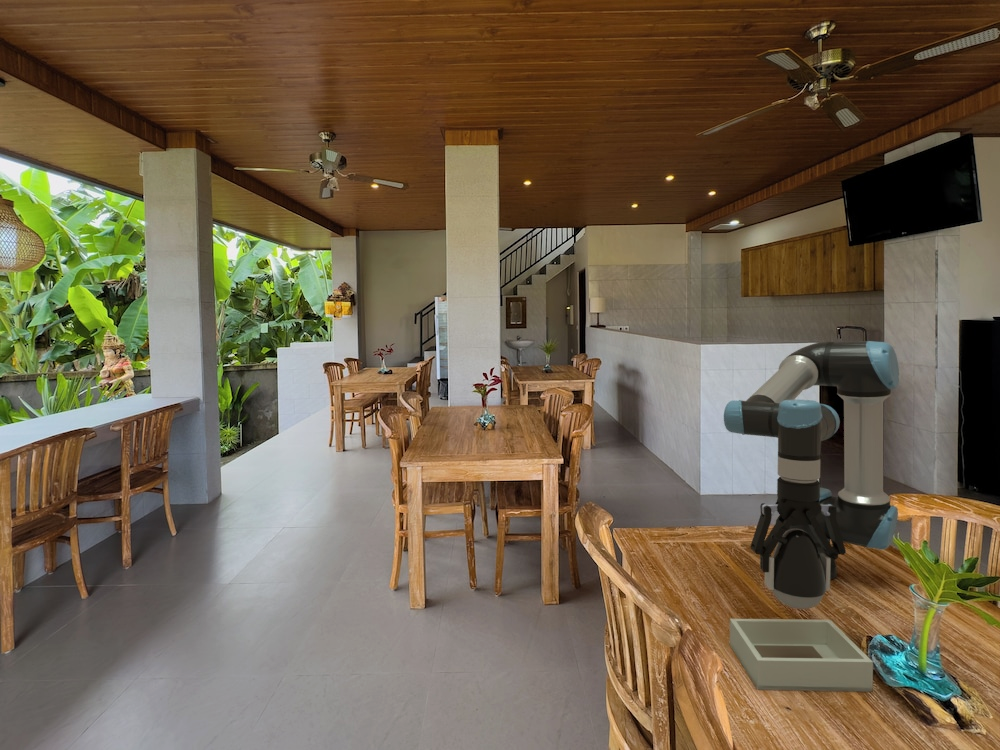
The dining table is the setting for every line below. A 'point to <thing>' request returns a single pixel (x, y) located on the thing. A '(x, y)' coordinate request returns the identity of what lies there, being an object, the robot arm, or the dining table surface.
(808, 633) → the tray
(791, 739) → the dining table surface
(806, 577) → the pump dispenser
